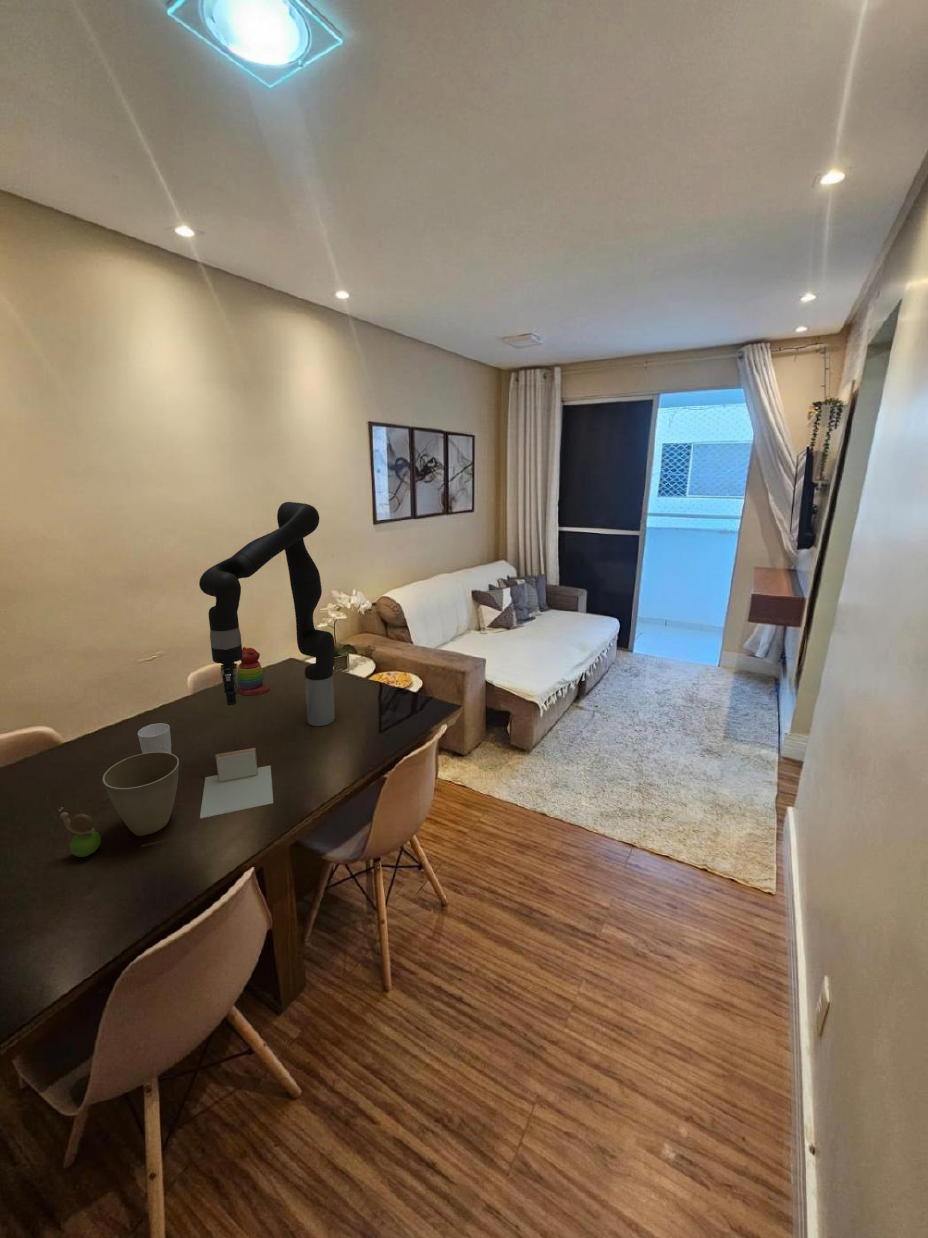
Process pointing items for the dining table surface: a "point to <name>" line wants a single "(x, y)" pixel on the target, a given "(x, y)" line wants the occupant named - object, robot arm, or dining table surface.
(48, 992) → the dining table surface
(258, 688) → the stacking bear
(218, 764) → the tile
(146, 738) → the white cup
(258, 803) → the mat
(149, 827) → the plant pot
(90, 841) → the snail figurine
